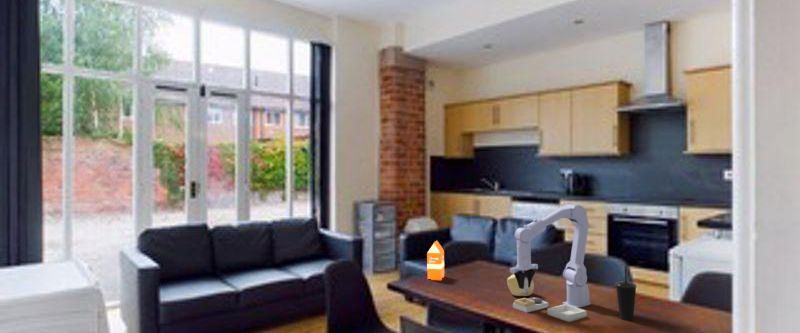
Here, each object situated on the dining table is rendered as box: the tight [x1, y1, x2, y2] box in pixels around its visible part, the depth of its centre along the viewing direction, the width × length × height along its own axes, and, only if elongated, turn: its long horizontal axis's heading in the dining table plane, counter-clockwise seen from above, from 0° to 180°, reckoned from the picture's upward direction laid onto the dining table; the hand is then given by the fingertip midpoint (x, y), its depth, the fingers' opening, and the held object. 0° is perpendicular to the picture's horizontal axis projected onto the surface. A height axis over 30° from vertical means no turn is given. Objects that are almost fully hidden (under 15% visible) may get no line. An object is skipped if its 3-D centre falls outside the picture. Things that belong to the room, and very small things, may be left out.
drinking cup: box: [614, 267, 638, 321], centre depth 187 cm, size 8×8×20 cm
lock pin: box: [521, 276, 529, 294], centre depth 201 cm, size 3×3×7 cm
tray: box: [547, 303, 587, 323], centre depth 191 cm, size 11×11×3 cm
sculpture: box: [506, 273, 535, 297], centre depth 222 cm, size 12×12×11 cm
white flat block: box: [512, 296, 549, 313], centre depth 203 cm, size 13×8×4 cm, turn 120°
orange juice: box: [426, 240, 445, 281], centre depth 257 cm, size 8×9×20 cm
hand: (524, 287), depth 201 cm, fingers closed on lock pin, 3 cm apart
